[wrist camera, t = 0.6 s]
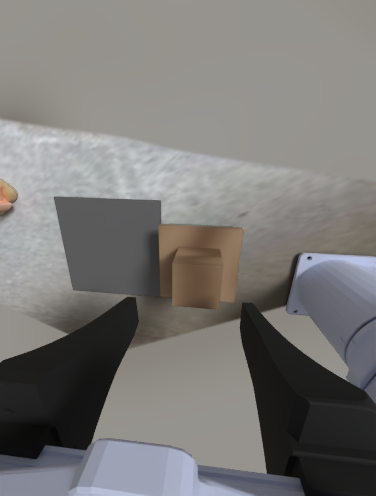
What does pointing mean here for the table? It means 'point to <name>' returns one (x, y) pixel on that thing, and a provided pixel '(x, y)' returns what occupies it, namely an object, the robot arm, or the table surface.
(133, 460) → the robot arm
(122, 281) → the mat
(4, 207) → the grandmother figurine
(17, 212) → the table surface
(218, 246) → the lid
